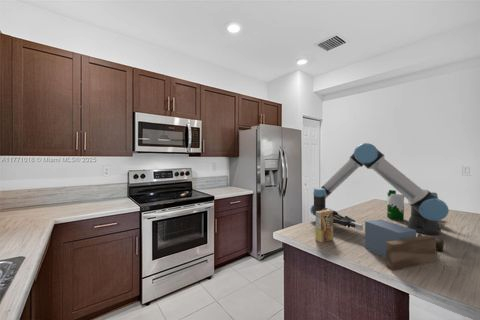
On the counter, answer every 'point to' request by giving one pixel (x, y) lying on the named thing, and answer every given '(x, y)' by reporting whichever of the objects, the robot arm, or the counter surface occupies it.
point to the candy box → (324, 225)
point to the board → (410, 252)
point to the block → (384, 235)
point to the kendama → (437, 243)
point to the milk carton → (395, 205)
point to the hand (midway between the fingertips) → (361, 227)
